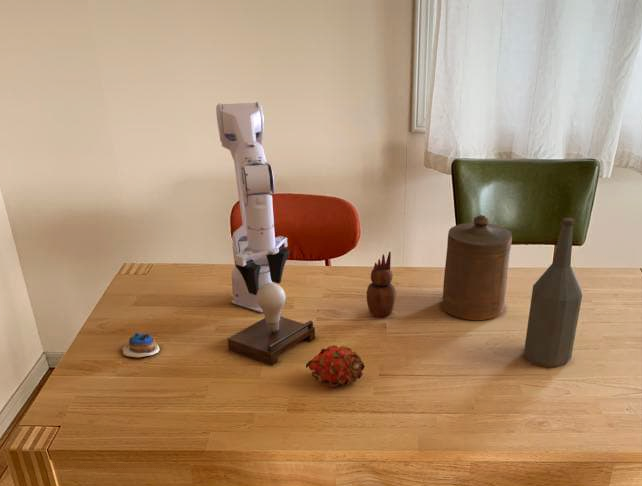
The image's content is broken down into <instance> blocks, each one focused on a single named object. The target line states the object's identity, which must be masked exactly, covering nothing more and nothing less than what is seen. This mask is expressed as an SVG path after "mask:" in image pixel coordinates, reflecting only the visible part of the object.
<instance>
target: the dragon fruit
mask: <svg viewBox="0 0 642 486" xmlns="http://www.w3.org/2000/svg"><path fill="white" fill-rule="evenodd" d="M307 368H309V370H310V371H312V372H311V376H312V377H314V378H315V379H316V380H318V382H319V383H320V382H321V381H327V382H329V385H330V387H332V388H334V387H338V386H339V384H342V386H346V385H348V384H350V383H351V382H352V383H355V382H357V380H359V379H361V378H362V377H363V375H364V373H363V371H364V369H365V363H364V361H363V360H362V358H361V356H360V355H359V354H358V353H357V352H356V351H353V350H352V349H351V348H350V347H348V346H347V345H341V346H340V347H339V346H338V345H328V346H327V347H326V348H321V349H320V351H319V353H318V354H317V355H314V356H313V357H312V358H311V359H309V360H308V361H307V363H306V364H305V369H307Z"/></svg>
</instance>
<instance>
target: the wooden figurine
mask: <svg viewBox="0 0 642 486" xmlns="http://www.w3.org/2000/svg"><path fill="white" fill-rule="evenodd" d="M385 257H386V256H385V254H384V253H382V257H381V259H380V258H378V260H377V262H374V266H373V269H372V270H371V273H370V280H371V283H370V284H369V285H368V286H367V289H366V304H367V308H368V310H369V312H370V314H371V315H373V316H374V317H378V318H379V317H380V318H385V317H389V316H390V315H392V313H393V311H394V308H395V304H396V298H397V290H396V289H397V288H396V287H395V285H394V284H393V283H392V281H393V271H392V270H391V261H392V258H391V257H392V252H391V251H389V252H388V255H387V257H386V259H385Z"/></svg>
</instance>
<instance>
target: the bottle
mask: <svg viewBox="0 0 642 486" xmlns="http://www.w3.org/2000/svg"><path fill="white" fill-rule="evenodd" d="M575 223H576V221H575V219H574V218H571V217H563V219H561V229H560V232H559V236H558V239H557V244H556V248H555V251H554V255H553V260H552V263H551V264H550V265H549V267H548V268H546V270H545V271H544V273H543V274H541V276H539V278H538V279H537V281H535V283H534V284H533V285H532V290H531V299H530V306H529V313H528V319H527V327H526V334H525V342H524V356H525V358H526V359H527V360H528V361H529V362H531V363H532V364H534V365H535V366H540V367H543V368H557V367H561V366H564V365H566V364H568V362H569V361H570V360H571V359H572V355H573V350H574V343H575V340H576V339H575V338H576V333H577V327H578V321H579V316H580V309H581V304H582V299H583V292H582V288H581V285H580V283H579V282H578V281H579V280H578V279H577V277H576V274H575V272H574V270H573V268H572V251H573V235H574V234H573V233H574V232H573V231H574V225H575Z"/></svg>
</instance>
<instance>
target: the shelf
mask: <svg viewBox="0 0 642 486" xmlns="http://www.w3.org/2000/svg"><path fill="white" fill-rule="evenodd" d="M314 340H316V327H315V326H314V322H313V320H309V321H307V322H306V323H303V322H299V321H296V320H293V319H290V318H287V317H284V316H281V315H280V321H279V330H277V331H276V332H271V331H269V330H268V329H267V322H266V320H265V317H264V318H261V320H259V321H256V322H255V323H253V324H251V325H249V326H248V327H246V328H244V329H242V330H240V331H238V332H237V333H235V334H233V335H231V336H230V337H227V347H228V351H230V352H233V353H236V354H238V355H241V356H244V357H247V358H249V359H253V360H255V361H258V362H260V363H264V364H266V365H269V366H274V365H275V364H277V363H278V355H280V354H282V353H284V352H285V351H287V350H288V349H290V348H292V347H293V346H295V345H296V344H298V343H300V342H301V341H307V342H312V341H314Z"/></svg>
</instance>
